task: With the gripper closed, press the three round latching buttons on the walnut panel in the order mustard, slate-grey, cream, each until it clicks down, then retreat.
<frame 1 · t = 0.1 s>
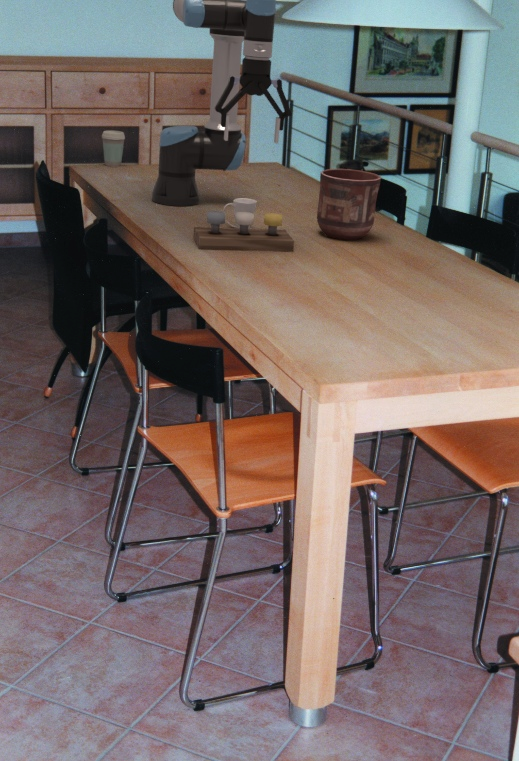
hand: (251, 141, 262), 28 cm above the table, fingers open, 13 cm apart
coffee cup: (112, 165, 362), on the table
cup: (238, 228, 289), on the table
mustard button: (272, 224, 271), point 6 cm above the table, slide at 0.0 cm
panel: (242, 244, 271), on the table
pottery: (344, 235, 291), on the table
cream button: (244, 223, 269), point 6 cm above the table, slide at 0.0 cm
slate button: (215, 222, 267), point 6 cm above the table, slide at 0.0 cm
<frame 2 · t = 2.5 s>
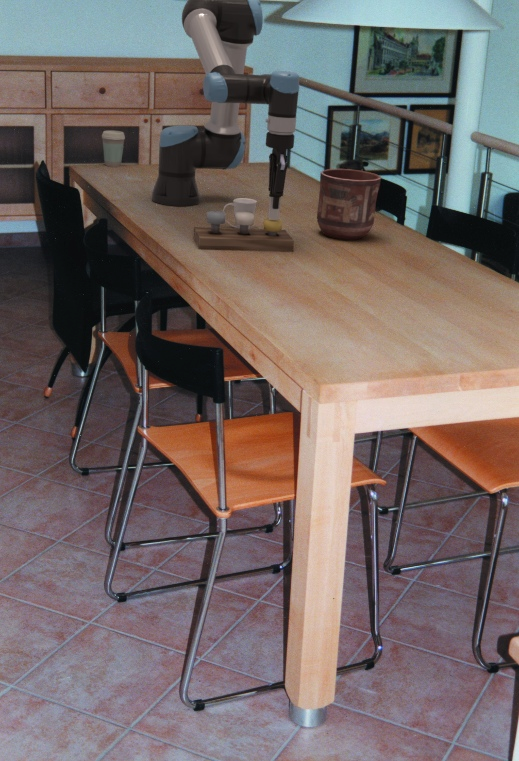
hand: (273, 219, 270), 7 cm above the table, fingers closed
mustard button: (272, 229, 271), point 4 cm above the table, slide at 1.5 cm, touching gripper
everything else where it was.
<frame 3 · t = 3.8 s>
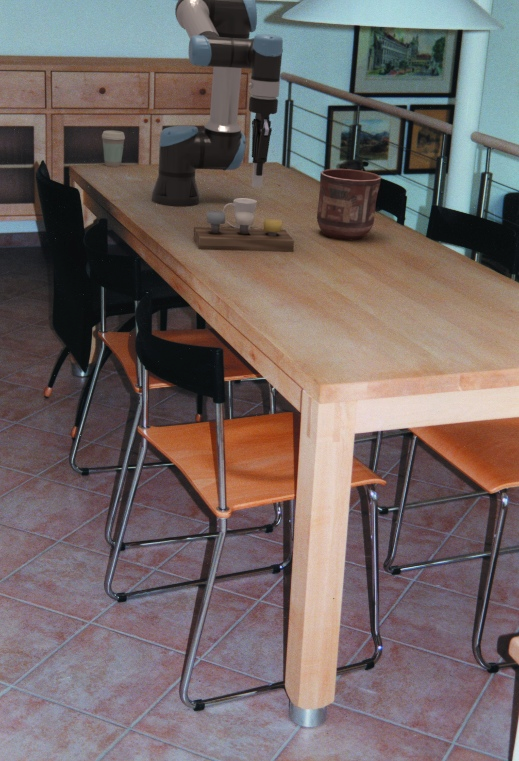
hand: (256, 186, 266), 16 cm above the table, fingers closed
mustard button: (272, 230, 271), point 4 cm above the table, slide at 1.7 cm
everything else where it was.
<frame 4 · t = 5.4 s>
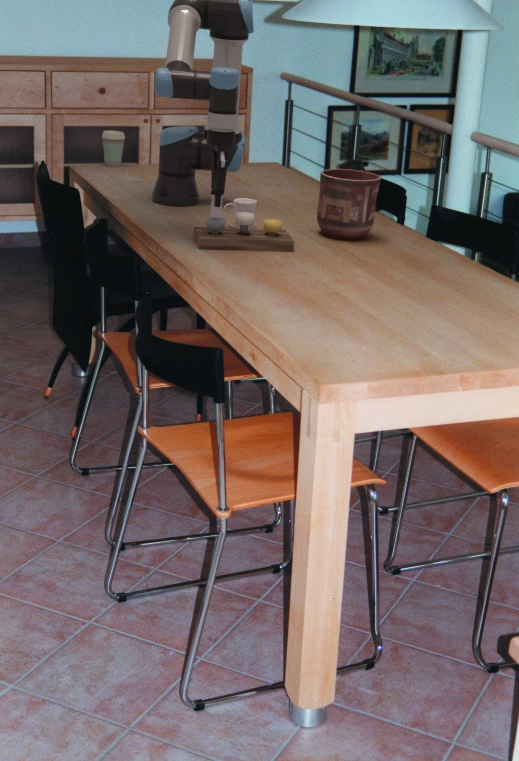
hand: (215, 217, 267), 7 cm above the table, fingers closed
slate button: (215, 227, 268), point 4 cm above the table, slide at 1.5 cm
everything else where it was.
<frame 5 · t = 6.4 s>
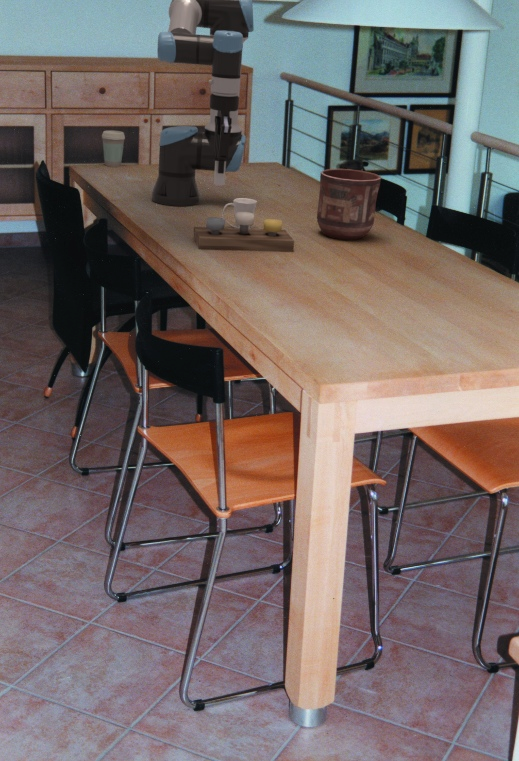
hand: (219, 184, 263), 16 cm above the table, fingers closed
nothing on the table moved.
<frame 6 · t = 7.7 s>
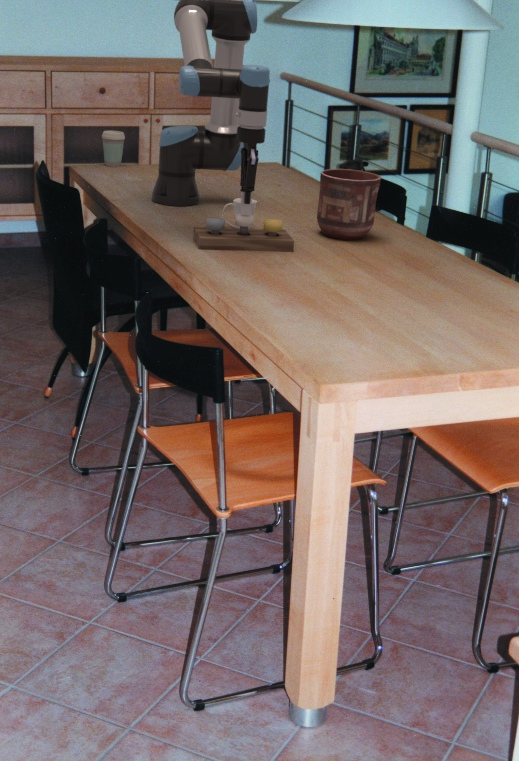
hand: (245, 214, 268), 8 cm above the table, fingers closed
cream button: (244, 224, 269), point 5 cm above the table, slide at 0.4 cm, touching gripper
everything else where it was.
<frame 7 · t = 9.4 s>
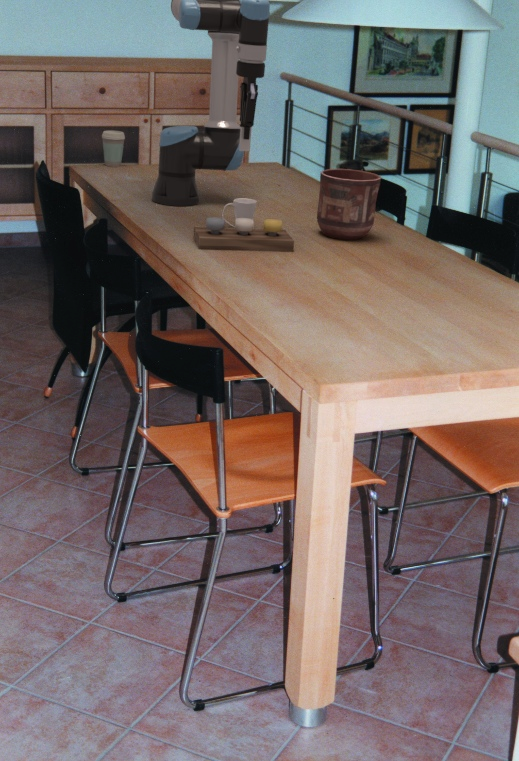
hand: (244, 150, 269), 24 cm above the table, fingers closed
cream button: (243, 229, 270), point 4 cm above the table, slide at 1.7 cm
everything else where it was.
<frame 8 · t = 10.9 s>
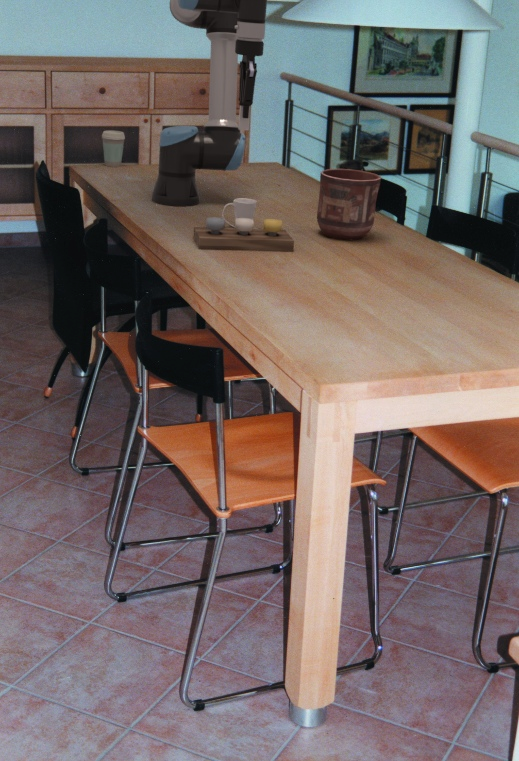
hand: (243, 129, 270), 29 cm above the table, fingers closed
nothing on the table moved.
at the end: mustard button slide at 1.7 cm; slate button slide at 1.7 cm; cream button slide at 1.7 cm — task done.
